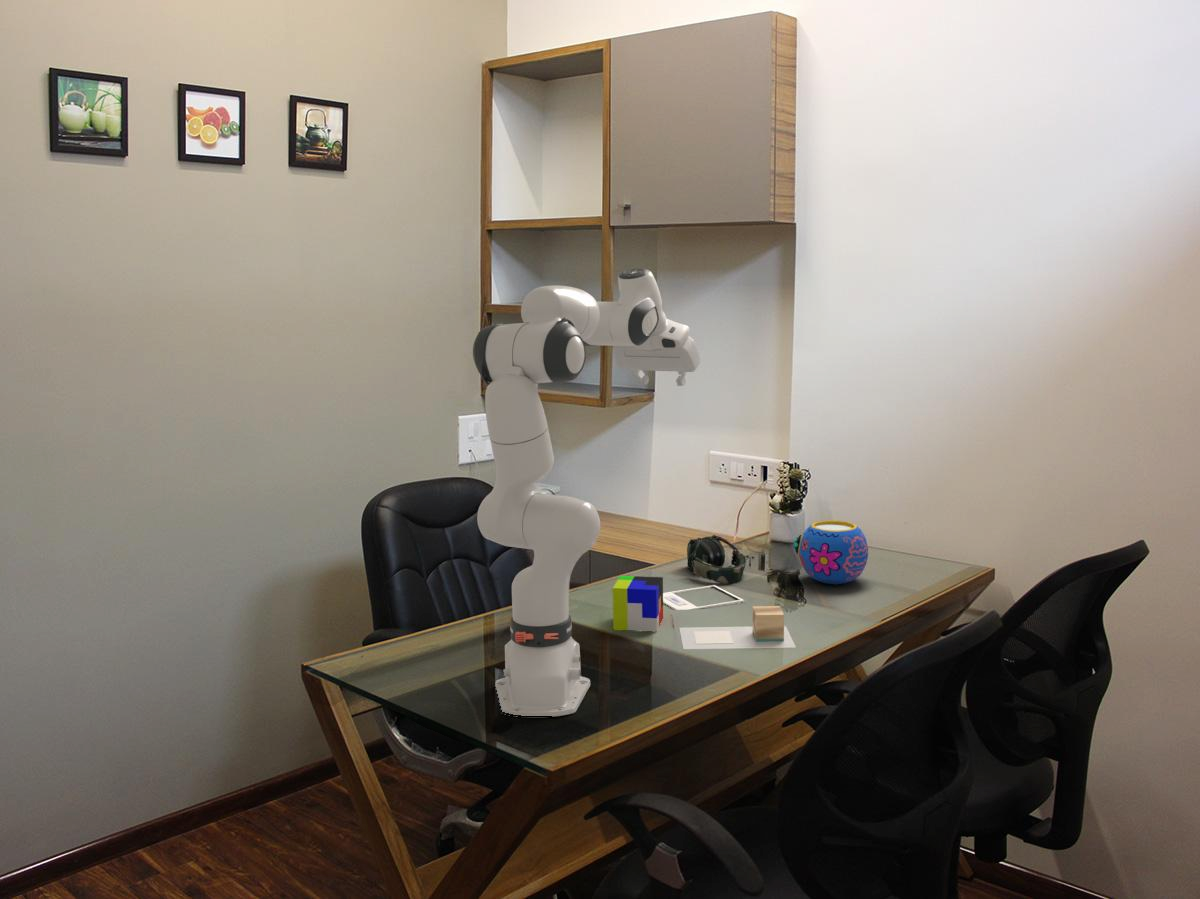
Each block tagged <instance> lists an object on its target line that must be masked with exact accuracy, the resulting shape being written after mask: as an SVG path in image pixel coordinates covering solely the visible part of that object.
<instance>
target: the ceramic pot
mask: <svg viewBox="0 0 1200 899" xmlns="http://www.w3.org/2000/svg"><path fill="white" fill-rule="evenodd" d="M793 542H794V543H793V549H794V551H795V553H796V554H797V555H798V557H799V561H800V564H801V566H802V567H803V570H804V572H805V574H807V575H808V576H809V577H810V578H812V579H813V580H815V581H818V582H820V583H823V584H828V585H841V584H846V583H847V584H848V583H849V582H852V581H855V580H856V579H857V578H859V577H860V576H861V575H862V573H863V571H864V570H865V568H866V566H867V562H868V558H869V546H868V541H867V538H866V536H865V533H864V532H863V531H862V529H861V528H860V527H859V526H857V525H856V524H854V523H852V522H848V521H842V520H820V521H816V522H813V523H812V524H810V525H808V527H807V528H806V529H805V531H804V532H803V533H801V534H800V535H798V536H797V537H795V539H794V541H793Z"/></svg>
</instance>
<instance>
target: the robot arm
mask: <svg viewBox="0 0 1200 899" xmlns="http://www.w3.org/2000/svg"><path fill="white" fill-rule="evenodd" d="M617 283H618V284H617V285H618V291H619V298H618V299H617V301H597V300H596V299H595V297H593V295H591V294H590V293H588V292H587V291H585V290H583V289H580V288H579V287H578V288H577V287H573V286H569V285H556V284H555V285H553V284H552V285H544V286H539V287H536V288H533V289H532V290H531V291H529V292H528V293H527V294H526V296H525V297H524V299H523V301H522V304H521V308H520V314H521V315H520V316H521V320H522V322H519V323H516V322H515V323H507V324H503V323H495V324H491V325H488V326H485V327H483V328H482V329H480V331H479V332H478V333H477V334H476V337H475V339H474V342H473V344H472V345H473V346H472V358H473V362H474V364H475V367H476V369H477V372H478V373H479V375H480V376H481V379H482V381H483V382H484V384H486V386H487V387H486V389H485V395H484V397H485V398H484V401H485V402H484V404H485V418H486V426H487V430H488V437H489V440H490V441H489V442H490V444H491V449H492V451H491V452H492V454H493V461H494V467H495V482H494V486H493V489H492V490H491V492H490V493H488V494H487V495H486V496H485V497H484V499H482V501H481V503H480V505H479V507H478V510H477V516H476V517H477V518H476V521H477V527H478V529H479V531H480V533H481V535H482V537H483V538H485V539H487V540H488V541H492V542H494V543H497V544H499V545H501V546H505V547H511V548H518V549H519V548H520V549H526V550H527V549H528V550H533V561H532V565H530V566H527V567H526V568H523V569H522V570H521V571H519V572H518V573H516V575H515V577H514V579H513V581H512V583H511V604H512V605H511V606H512V611H511V612H512V616H511V617H510V624H509V625H510V626H509V628H510V629H509V631H510V640H509V641H508V642H506V644H504V661H505V662H504V665H505V666H504V667H505V668H503V670H502V675H503V677H502V678H500V679H497V680H496V681H495V686H494V687H496V688H495V691H496V690H497V692H496V695H497V694H498V696H497V699H498V698H499V700H498V703H500V704H499V706H501V708H500V711H501V710H502V712H505V713H509V714H513V715H521V716H552V717H561V716H566V715H571V714H575V713H576V712H577V711H578V708H579V707H580V705H581V703H582V701H583V699H584V698H585V696H586V693H587V692H588V690H589V688H590V687H591V680H590V678H588V677H585V676H582V670H581V669H582V668H581V652H580V643H578V642H577V641H576V640H575V639H574V638H573V637H572V634H573V633H572V631H573V630H572V628H573V624H572V616H571V615H570V614H569V613H570V612H569V609H570V608H569V606H570V602H569V601H570V600H569V598H570V580H571V575H572V572H573V570H574V567H575V566H576V564H577V562H578V561H579V559H580V558H581V557H582V556H583V555H584V554H585V553H587V552H588V551H590V550H591V549H592V548H593V547H594V545H595V544H596V542H597V540H598V539H599V536H600V532H601V519H600V515H599V512H598V511H597V509H596V507H595V506H594V504H592V503H591V502H588V501H586V500H582V499H580V498H576V497H573V496H571V495H570V496H569V495H559V494H551V493H550V494H549V493H542V492H540V491H539V489H538V487H537V486H538V485H537V483H538V482H540V481H541V480H543V479H545V478H546V477H547V476H548V475H550V473H551V471H552V469H553V466H554V462H555V455H554V451H553V446H552V440H551V436H550V431H549V426H548V420H547V417H546V413H545V409H544V406H543V402H542V400H541V398H540V397H541V396H540V395H539V392H538V387H539V384H546V383H548V384H549V383H554V384H562V383H563V384H564V383H567V382H572V381H574V380H576V379H577V378H578V377H579V375H580V374H581V372H582V371H583V368H584V366H585V363H586V358H587V357H586V354H587V352H586V347H592V346H594V347H595V346H608V347H609V346H612V347H613V348H614V356H615V357H614V358H615V362H616V366H617V367H618V369H620V370H621V371H622V370H625V371H632V373H633V375H635V376H636V377H637V378H638V379H639V382H640V384H641V385H648V384H649V382H650V378H649V375H648V374H645V373H644V371H650V372H654V371H655V372H657V371H658V372H675V373H676V372H677V374H678V376H677V378H676V379H675V382H676V386H679V387H684V386H685V385H686V378H685V377H686V375H687V373H693V372H695V371H696V370H697V369H698V367H699V365H700V362H701V357H700V353H699V350H698V347H697V344H696V342H695V340H694V339H693V338H692V337H691V336H690V333H691V328H690V327H689V326H688V325H686V324H682V323H680V322H676V321H673V320H671V319H670V318H669V319H668V318H667V315H666V313H665V312H664V310H663V299H662V297H661V292H660V288H659V286H658V282H657V281H656V278H655V276H654V274H653V272H652V271H651V270H649V269H646V268H632V269H627V270H625V271H622V272H621V273H619V275H618V276H617ZM502 712H501V713H502Z"/></svg>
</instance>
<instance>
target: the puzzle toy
mask: <svg viewBox="0 0 1200 899" xmlns="http://www.w3.org/2000/svg"><path fill="white" fill-rule="evenodd" d="M663 593H664V577H663V576H662V577H661V576H635V575H620V576H619V577H618V579H617V580H616V582H615V583H614V586H613V587H612V616H613V617H612V621H613V622H612V624H613V625H612V626H613V629H614V630H613V629H612V630H613V631H621V630H642V631H657V630H658V631H659V629H658V628H660V626H661V624H662V622H663V620H664V604H663ZM662 619H663V620H662ZM661 621H662V622H661ZM660 623H661V624H660ZM642 631H641V632H642ZM658 631H657V632H658Z"/></svg>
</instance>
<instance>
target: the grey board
mask: <svg viewBox="0 0 1200 899" xmlns="http://www.w3.org/2000/svg"><path fill="white" fill-rule="evenodd" d="M678 628H679V634H680V639H681V644H682V649H683V650H734V649H735V650H738V649H741V650H742V649H748V650H749V649H793V648H794V649H796V648H797V646H796V645H795V642H794V641H793V640H794V639H793V638H792V635H791V634H790V632H789V630H788V628H787V626H786V625H784V641H768V642H756V640H755V638H754V635H753V625H752V626H713V627H712V626H706V627H705V626H699V627H698V626H697V627H695V626H694V627H678Z"/></svg>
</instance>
